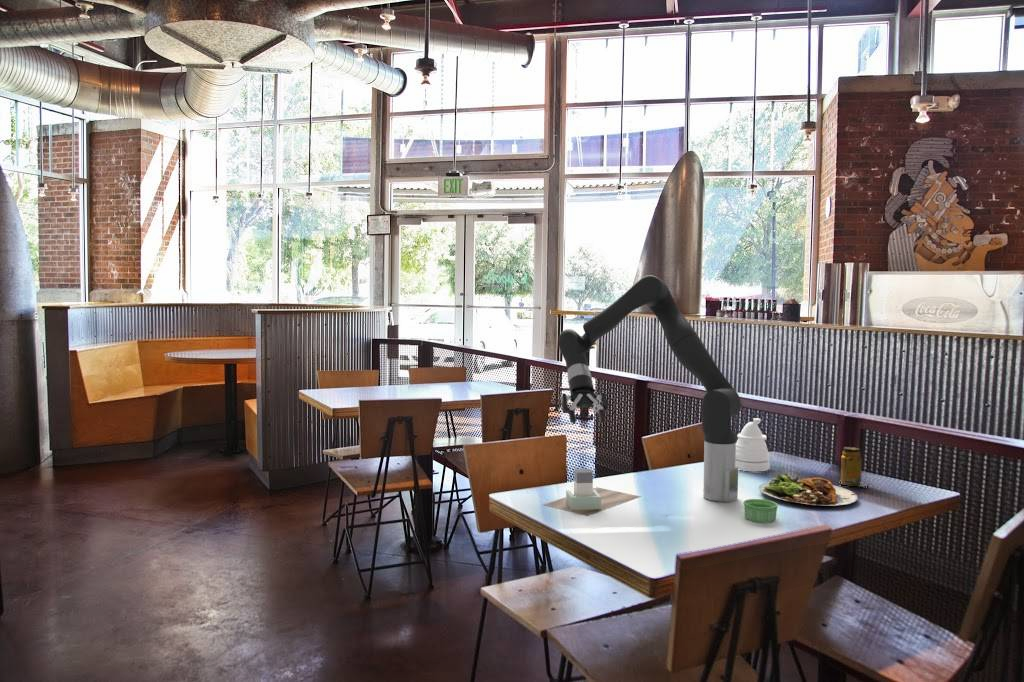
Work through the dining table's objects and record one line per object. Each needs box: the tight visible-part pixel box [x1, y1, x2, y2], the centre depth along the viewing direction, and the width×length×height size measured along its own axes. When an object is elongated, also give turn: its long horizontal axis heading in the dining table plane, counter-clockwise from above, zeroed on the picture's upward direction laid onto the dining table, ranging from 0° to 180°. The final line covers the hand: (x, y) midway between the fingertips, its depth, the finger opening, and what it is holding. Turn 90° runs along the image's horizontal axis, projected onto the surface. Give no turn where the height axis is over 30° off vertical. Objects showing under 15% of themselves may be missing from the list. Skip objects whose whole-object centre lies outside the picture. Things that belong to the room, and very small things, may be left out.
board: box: [542, 486, 642, 517], centre depth 217 cm, size 16×27×1 cm, turn 138°
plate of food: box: [758, 472, 858, 507], centre depth 227 cm, size 28×28×6 cm
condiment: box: [840, 446, 868, 489], centre depth 242 cm, size 7×8×12 cm
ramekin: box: [743, 498, 779, 524], centre depth 204 cm, size 9×9×4 cm
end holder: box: [565, 489, 601, 510], centre depth 212 cm, size 8×8×4 cm
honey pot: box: [736, 417, 771, 471], centre depth 265 cm, size 13×13×18 cm
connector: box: [573, 468, 594, 497], centre depth 212 cm, size 4×4×10 cm
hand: (588, 422), depth 227 cm, fingers open, 8 cm apart
